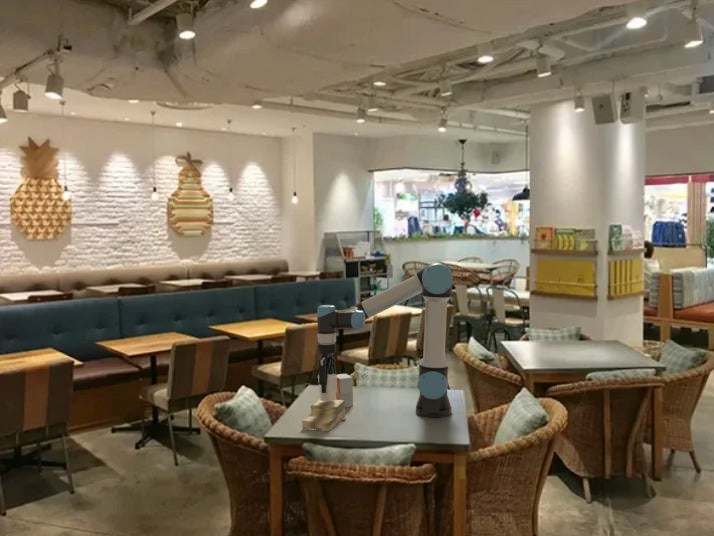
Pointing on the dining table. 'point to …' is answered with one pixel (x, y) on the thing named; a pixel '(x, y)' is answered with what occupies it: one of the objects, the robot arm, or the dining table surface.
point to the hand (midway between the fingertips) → (327, 397)
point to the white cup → (330, 387)
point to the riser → (324, 415)
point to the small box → (345, 389)
